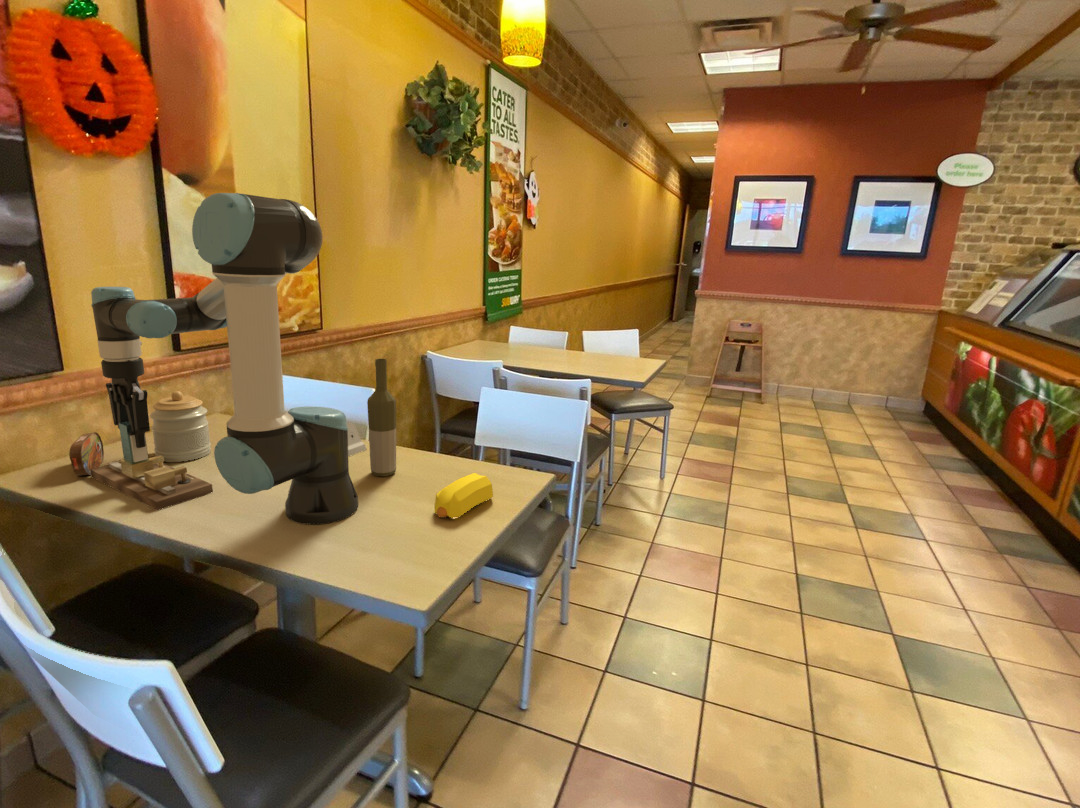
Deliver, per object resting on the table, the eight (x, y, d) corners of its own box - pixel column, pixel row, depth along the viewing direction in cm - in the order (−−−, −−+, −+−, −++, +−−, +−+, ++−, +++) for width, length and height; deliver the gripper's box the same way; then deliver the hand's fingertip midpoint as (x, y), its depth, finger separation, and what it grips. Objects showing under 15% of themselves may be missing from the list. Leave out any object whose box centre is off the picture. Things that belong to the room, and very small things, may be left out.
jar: (172, 467, 147) (164, 400, 142) (145, 456, 153) (136, 391, 148) (221, 453, 158) (215, 390, 153) (194, 443, 164) (187, 383, 159)
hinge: (321, 466, 151) (310, 430, 151) (309, 468, 154) (299, 433, 153) (367, 449, 166) (358, 416, 165) (356, 451, 168) (347, 418, 167)
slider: (169, 471, 137) (162, 419, 134) (133, 481, 131) (125, 427, 127) (158, 466, 140) (151, 415, 136) (122, 476, 133) (114, 422, 130)
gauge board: (212, 492, 133) (210, 467, 132) (157, 510, 123) (153, 483, 122) (145, 463, 148) (142, 440, 147) (91, 477, 138) (87, 452, 137)
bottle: (363, 475, 147) (360, 360, 139) (379, 466, 154) (376, 356, 146) (387, 480, 145) (385, 363, 137) (402, 470, 151) (401, 358, 144)
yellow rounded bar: (425, 517, 127) (453, 526, 123) (425, 489, 125) (453, 498, 122) (474, 490, 142) (500, 498, 138) (474, 465, 140) (500, 472, 137)
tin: (87, 480, 137) (81, 446, 134) (71, 481, 135) (65, 447, 133) (106, 458, 150) (101, 427, 148) (91, 459, 149) (86, 428, 147)
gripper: (160, 361, 126) (172, 461, 132) (122, 351, 134) (135, 446, 140) (121, 366, 119) (136, 471, 125) (84, 355, 128) (100, 454, 134)
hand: (136, 457), depth 133 cm, fingers closed on slider, 3 cm apart
